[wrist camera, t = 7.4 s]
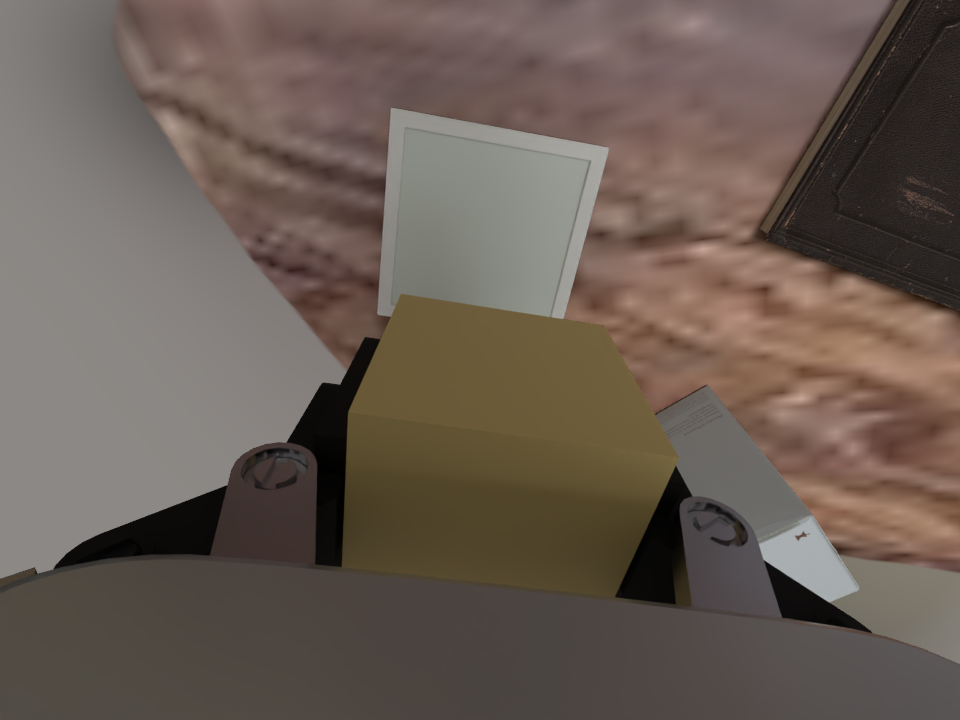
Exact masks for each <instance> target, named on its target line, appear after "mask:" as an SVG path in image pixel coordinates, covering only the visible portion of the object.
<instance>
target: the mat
mask: <svg viewBox="0 0 960 720" xmlns="http://www.w3.org/2000/svg"><path fill="white" fill-rule="evenodd" d="M608 152H609V148H608V147H604V146H599V145H593V144H588V143H582V142H577V141H572V140H566V139H561V138H555V137H550V136H545V135H539V134H534V133H528V132H523V131H517V130H512V129H507V128H501V127H496V126H490V125H485V124H479V123H474V122H469V121H463V120H458V119H452V118H447V117H442V116H436V115H431V114H425V113H420V112H414V111H409V110H404V109H398V108H391V115H390V130H389V145H388V160H387V175H386V190H385V205H384V220H383V235H382V250H381V265H380V280H379V295H378V310H377V315H382V316H389V317H391V315H392V313H393V311H394V309H395V306H396V304H397V302H398V300H399V297H400V295H401V294H406V295H413V296H419V297H425V298H432V299H438V300H445V301H451V302H457V303H464V304H470V305H476V306H483V307H489V308H496V309H502V310H508V311H515V312H521V313H527V314H534V315H540V316H547V317H553V318H559V319H564V315H565V312H566V308H567V304H568V301H569V297H570V293H571V289H572V286H573V282H574V278H575V275H576V271H577V267H578V263H579V260H580V256H581V252H582V248H583V245H584V241H585V237H586V234H587V230H588V226H589V222H590V219H591V215H592V211H593V207H594V204H595V200H596V196H597V193H598V189H599V185H600V181H601V178H602V174H603V170H604V166H605V163H606V159H607V155H608Z"/></svg>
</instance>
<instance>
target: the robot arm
mask: <svg viewBox="0 0 960 720" xmlns="http://www.w3.org/2000/svg"><path fill="white" fill-rule="evenodd" d="M380 340H381V339H375V338H368V337H365V338H364V340H363V342H362V344H361V346H360V348H359V350H358V352H357V353H356V355H355V357H354V359H353V361H352V363H351V365H350V367H349V369H348V371H347V373H346V375H345V376H344V378H343V380H342V382H341V384H340V385H337V384H331V383H322V384H321V386H320V387H319V389H318V390H317V392H316V394H315V395H314V397H313V399H312V400H311V403H310V404H309V406H308V408H307V409H306V411H305V412H304V414H303V416H302V417H301V419H300V421H299V423H298V424H297V426H296V428H295V429H294V431H293V433H292V434H291V436H290V438H289V439H288V441H287V443H280V442H279V443H271V444H265V445H262V446H259V447H256V448H253V449H251V450H250V451H248V452H246V453H245V454H243V455H242V456H241V457H240V458H239V459H238V460H237V461H236V462H235V464H234V466H233V468H232V470H231V474H230V477H229V482H228V485H227V486H224V487H221V488H219V489H217V490H214V491H211V492H209V493H206V494H203V495H201V496H198V497H195V498H193V499H190V500H188V501H185V502H182V503H180V504H177V505H174V506H172V507H169V508H167V509H164V510H161V511H159V512H156V513H154V514H151V515H148V516H146V517H143V518H141V519H138V520H136V521H133V522H130V523H128V524H125V525H122V526H120V527H117V528H115V529H112V530H109V531H107V532H104V533H102V534H99V535H97V536H95V537H93V538H91V539H89V540H86V541H84V542H82V543H81V544H79V545H78V546H77V547H75V548H74V549H72V550H71V551H70V552H68V553H67V554H66V555H65V556H64V557H63V558H62V559H61V560H60V561H59V562H58V564H56V566H55V567H54V569H53V570H50V571H46V572H42V573H39V574H38V573H37V571H36V569H35V568H31V569H28V570H25V571H22V572H19V573H16V574H14V575H10V576H7V577H4V578H1V579H0V720H960V664H958V663H956V662H953V661H951V660H949V659H946V658H944V657H941V656H939V655H937V654H934V653H932V652H930V651H928V650H925V649H922V648H919V647H916V646H913V645H910V644H907V643H904V642H901V641H898V640H895V639H892V638H889V637H886V636H881V635H877V634H873V633H872V632H871V631H870V630H868V629H867V628H866V627H865V626H863V625H862V624H861V623H859V622H858V621H857V620H855V619H854V618H852V617H851V616H849V615H847V614H846V613H845V612H843V611H841V610H840V609H838V608H837V607H835V606H834V605H832V604H830V603H829V602H828V601H826V600H825V599H823V598H821V597H820V596H818V595H817V594H815V593H814V592H812V591H811V590H809V589H808V588H806V587H805V586H803V585H801V584H800V583H798V582H797V581H795V580H794V579H792V578H791V577H789V576H788V575H786V574H785V573H783V572H782V571H780V570H778V569H777V568H775V567H774V566H772V565H771V564H769V563H768V562H766V561H765V560H764V559H763V556H762V553H761V550H760V547H759V544H758V540H757V537H756V535H755V533H754V531H753V529H752V527H751V526H750V524H749V523H748V522H747V521H746V520H745V519H744V518H743V517H742V516H741V515H740V514H739V513H737V512H736V511H735V510H733V509H732V508H730V507H728V506H727V505H725V504H723V503H721V502H719V501H716V500H714V499H711V498H706V497H701V496H696V497H693V496H692V494H691V492H690V490H689V488H688V487H687V485H686V483H685V481H684V479H683V478H682V476H681V474H680V472H679V470H678V468H677V467H676V466H675V468H674V470H673V473H672V475H671V477H670V479H669V481H668V483H667V486H666V488H665V490H664V492H663V494H662V496H661V498H660V501H659V503H658V505H657V507H656V509H655V511H654V514H653V516H652V518H651V520H650V522H649V524H648V527H647V529H646V531H645V533H644V535H643V537H642V539H641V542H640V544H639V546H638V548H637V550H636V552H635V555H634V557H633V559H632V561H631V563H630V565H629V568H628V570H627V572H626V574H625V576H624V578H623V580H622V583H621V585H620V587H619V589H618V591H617V593H616V596H615V597H607V596H598V595H590V594H581V593H572V592H563V591H554V590H546V589H537V588H528V587H519V586H510V585H501V584H492V583H483V582H474V581H465V580H456V579H447V578H437V577H428V576H419V575H409V574H400V573H391V572H381V571H372V570H362V569H353V568H344V567H342V550H343V525H344V501H345V476H346V452H347V428H348V411H349V409H350V407H351V405H352V403H353V400H354V398H355V396H356V394H357V391H358V389H359V387H360V385H361V382H362V380H363V378H364V376H365V373H366V371H367V369H368V367H369V365H370V362H371V360H372V358H373V356H374V353H375V351H376V349H377V347H378V344H379V342H380Z"/></svg>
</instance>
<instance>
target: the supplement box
mask: <svg viewBox="0 0 960 720" xmlns="http://www.w3.org/2000/svg"><path fill="white" fill-rule="evenodd" d="M655 416H656V418H657V420H658V421H659V423H660V425H661V427H662V428H663V430H664V432H665V434H666V435H667V437H668V439H669V441H670V442H671V444H672V446H673V448H674V449H675V451H676V453H677V455H678V456H679V460H678V462H677V464H676V467H677V468H678V470H679V472H680V474H681V476H682V478H683V479H684V481H685V483H686V485H687V487H688V488H689V490H690V492H691V494H692V496H693V497H696V496H701V497H706V498H711V499H714V500H716V501H719V502H721V503H723V504H725V505H727V506H728V507H730V508H732V509H733V510H735V511H736V512H737V513H739V514H740V515H741V516H742V517H743V518H744V519H745V520H746V521H747V522H748V523H749V524H750V526H751V527H752V529H753V531H754V533H755V535H756V537H757V540H758V544H759V547H760V550H761V553H762V556H763V559H764V560H765V561H766V562H768V563H769V564H771V565H772V566H774V567H775V568H777V569H778V570H780V571H782V572H783V573H785V574H786V575H788V576H789V577H791V578H792V579H794V580H795V581H797V582H798V583H800V584H801V585H803V586H805V587H806V588H808V589H809V590H811V591H812V592H814V593H815V594H817V595H818V596H820V597H821V598H823V599H825V600H826V601H828V602H831V601H833V600H836V599H838V598H840V597H843V596H845V595H848V594H850V593H853V592H856V591H858V590H859V586H858V584H857V583H856V581H855V580H854V578H853V577H852V575H851V574H850V572H849V571H848V569H847V567H846V566H845V564H844V563H843V561H842V560H841V558H840V556H839V555H838V553H837V551H836V550H835V548H834V547H833V546H832V544H831V543H830V541H829V540H828V538H827V537H826V535H825V533H824V532H823V530H822V529H821V527H820V525H819V524H818V522H817V521H816V519H815V517H814V516H813V514H812V513H811V512H810V511H809V510H808V508H807V507H806V506H805V505H804V503H803V502H802V501H801V500H800V498H799V497H798V496H797V495H796V493H795V492H794V491H793V490H792V488H791V487H790V486H789V485H788V484H787V482H786V481H785V480H784V479H783V477H782V476H781V475H780V474H779V472H778V471H777V470H776V469H775V467H774V466H773V465H772V464H771V463H770V461H769V460H768V459H767V458H766V456H765V455H764V454H763V453H762V452H761V450H760V449H759V448H758V447H757V445H756V444H755V443H754V442H753V440H752V439H751V438H750V437H749V435H748V434H747V433H746V432H745V430H744V429H743V428H742V427H741V426H740V424H739V423H738V422H737V421H736V420H735V418H734V417H733V416H732V415H731V413H730V412H729V411H728V410H727V408H726V407H725V406H724V405H723V403H722V402H721V401H720V400H719V398H718V397H717V396H716V395H715V393H714V392H713V391H712V389H711V388H710V387H709V386H705V387H704V388H702V389H700V390H698V391H696V392H695V393H693V394H691V395H689V396H687V397H686V398H684V399H682V400H681V401H679V402H677V403H675V404H673V405H672V406H670V407H668V408H666V409H665V410H663V411H661V412H659V413H657V414H656V415H655Z"/></svg>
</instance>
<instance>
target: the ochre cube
mask: <svg viewBox="0 0 960 720" xmlns="http://www.w3.org/2000/svg"><path fill="white" fill-rule="evenodd" d="M678 460H679V456H678V455H677V453H676V451H675V449H674V448H673V446H672V444H671V442H670V441H669V439H668V437H667V435H666V434H665V432H664V430H663V428H662V427H661V425H660V423H659V421H658V420H657V418H656V416H655V414H654V413H653V411H652V409H651V407H650V405H649V404H648V402H647V400H646V398H645V397H644V395H643V393H642V391H641V390H640V388H639V386H638V384H637V383H636V381H635V379H634V377H633V376H632V374H631V372H630V370H629V369H628V367H627V365H626V363H625V362H624V360H623V358H622V356H621V355H620V353H619V351H618V349H617V348H616V346H615V344H614V342H613V340H612V339H611V337H610V335H609V333H608V332H607V330H606V328H605V326H604V325H598V324H591V323H585V322H578V321H572V320H566V319H559V318H553V317H547V316H540V315H534V314H527V313H521V312H515V311H508V310H502V309H496V308H489V307H483V306H476V305H470V304H464V303H457V302H451V301H445V300H438V299H432V298H425V297H419V296H413V295H406V294H401V295H400V297H399V300H398V302H397V304H396V306H395V309H394V311H393V313H392V315H391V318H390V320H389V322H388V324H387V326H386V329H385V331H384V333H383V335H382V338H381V340H380V342H379V344H378V347H377V349H376V351H375V353H374V356H373V358H372V360H371V362H370V365H369V367H368V369H367V371H366V373H365V376H364V378H363V380H362V382H361V385H360V387H359V389H358V391H357V394H356V396H355V398H354V400H353V403H352V405H351V407H350V409H349V411H348V428H347V452H346V476H345V501H344V525H343V550H342V567H344V568H353V569H362V570H372V571H381V572H391V573H400V574H409V575H419V576H428V577H437V578H447V579H456V580H465V581H474V582H483V583H492V584H501V585H510V586H519V587H528V588H537V589H546V590H554V591H563V592H572V593H581V594H590V595H598V596H607V597H615V596H616V593H617V591H618V589H619V587H620V585H621V583H622V580H623V578H624V576H625V574H626V572H627V570H628V568H629V565H630V563H631V561H632V559H633V557H634V555H635V552H636V550H637V548H638V546H639V544H640V542H641V539H642V537H643V535H644V533H645V531H646V529H647V527H648V524H649V522H650V520H651V518H652V516H653V514H654V511H655V509H656V507H657V505H658V503H659V501H660V498H661V496H662V494H663V492H664V490H665V488H666V486H667V483H668V481H669V479H670V477H671V475H672V473H673V470H674V468H675V466H676V464H677V462H678Z"/></svg>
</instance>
